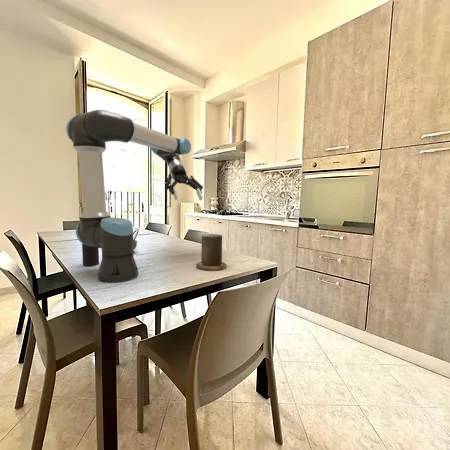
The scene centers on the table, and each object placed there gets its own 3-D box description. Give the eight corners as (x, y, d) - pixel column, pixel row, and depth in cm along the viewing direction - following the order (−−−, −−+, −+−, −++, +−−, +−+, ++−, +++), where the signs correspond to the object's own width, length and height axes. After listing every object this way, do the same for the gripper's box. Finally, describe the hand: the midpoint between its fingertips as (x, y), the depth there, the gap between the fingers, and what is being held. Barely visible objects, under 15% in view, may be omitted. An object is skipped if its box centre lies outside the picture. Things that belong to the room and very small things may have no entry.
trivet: (215, 272, 112) (215, 269, 112) (190, 267, 119) (190, 264, 119) (231, 265, 124) (231, 263, 124) (207, 261, 131) (207, 258, 131)
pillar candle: (221, 266, 116) (222, 233, 115) (199, 266, 117) (200, 233, 115) (222, 261, 126) (222, 231, 125) (202, 261, 126) (202, 230, 125)
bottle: (92, 267, 117) (90, 223, 115) (79, 265, 119) (77, 222, 116) (102, 263, 124) (100, 221, 122) (89, 262, 125) (88, 221, 123)
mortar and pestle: (140, 252, 150) (140, 231, 149) (129, 255, 141) (129, 233, 140) (124, 250, 154) (123, 230, 152) (113, 253, 145) (112, 232, 143)
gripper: (196, 177, 149) (208, 203, 138) (153, 174, 136) (163, 203, 125) (200, 166, 144) (213, 193, 133) (156, 162, 131) (167, 192, 120)
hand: (189, 198), depth 129 cm, fingers open, 13 cm apart
